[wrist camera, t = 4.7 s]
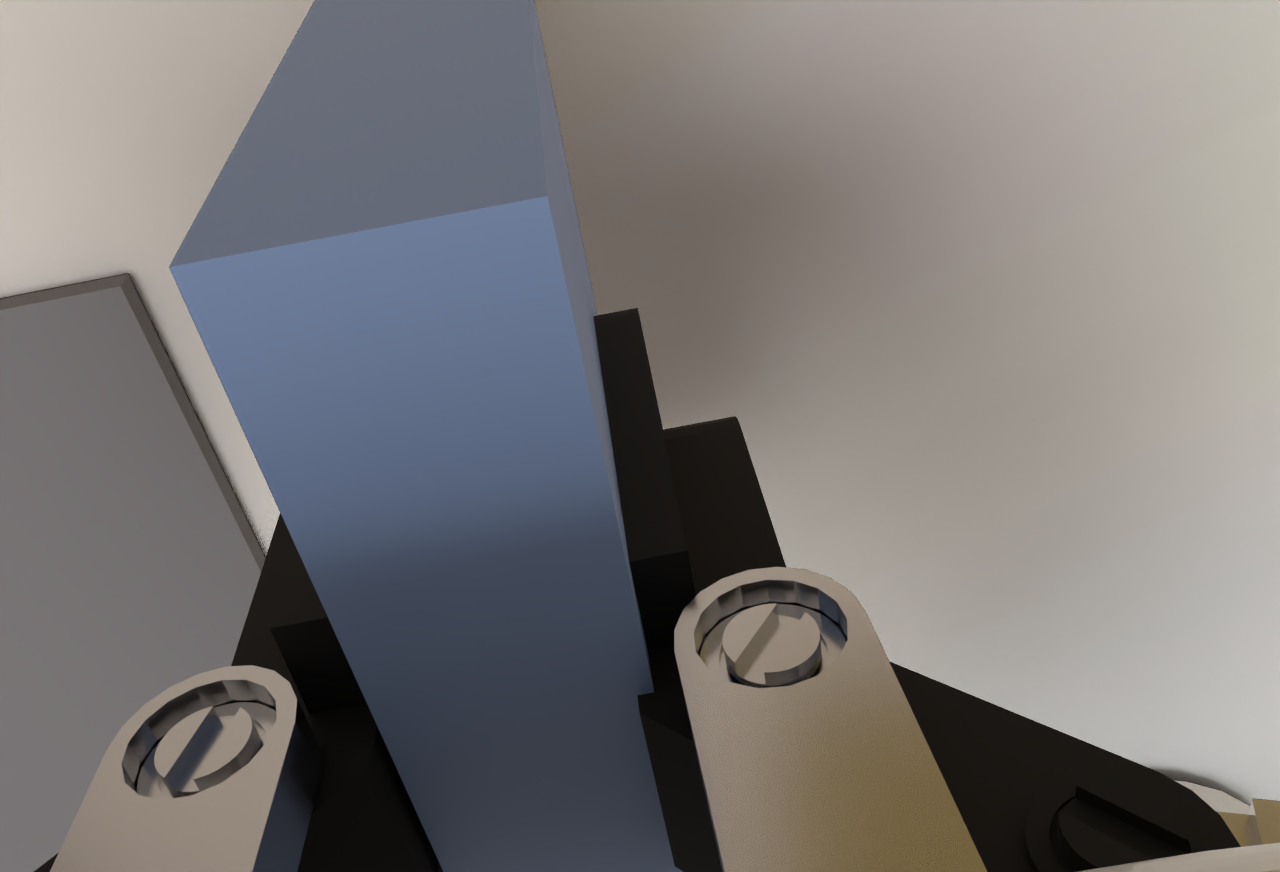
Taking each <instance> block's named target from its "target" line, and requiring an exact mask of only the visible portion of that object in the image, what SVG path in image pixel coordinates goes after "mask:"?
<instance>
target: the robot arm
mask: <svg viewBox="0 0 1280 872" xmlns="http://www.w3.org/2000/svg"><path fill="white" fill-rule="evenodd" d="M593 317H594V324H595V331H596V338H597V345H598V352H599V358H600V365H601V372H602V379H603V386H604V393H605V399H606V406H607V413H608V420H609V427H610V434H611V441H612V448H613V454H614V461H615V468H616V475H617V482H618V489H619V495H620V502H621V509H622V516H623V523H624V530H625V537H626V543H627V550H628V557H629V563H630V568H631V573H632V578H633V582H634V587H635V592H636V597H637V601H638V606H639V611H640V616H641V621H642V625H643V630H644V635H645V640H646V644H647V649H648V655H649V662H650V668H651V675H652V681H653V688H654V692H653V693H648V694H642V695H637V697H638V705H639V713H640V717H641V722H642V726H643V730H644V735H645V739H646V744H647V748H648V752H649V757H650V761H651V765H652V770H653V774H654V778H655V783H656V787H657V791H658V796H659V800H660V805H661V809H662V813H663V818H664V822H665V826H666V831H667V835H668V839H669V844H670V848H671V852H672V857H673V861H674V866H675V867H677V868H678V869H680V870H681V871H683V872H1280V801H1273V800H1263V799H1253V798H1252V800H1251V805H1250V806H1249V805H1247V804H1245V803H1243V802H1241V801H1239V800H1238V799H1236V798H1234V797H1232V796H1230V795H1228V794H1226V793H1225V792H1223V791H1220V790H1216V789H1212V788H1208V787H1205V786H1201V785H1197V784H1194V783H1190V782H1186V781H1177V780H1172V779H1170V778H1168V777H1167V776H1165V775H1163V774H1161V773H1159V772H1157V771H1155V770H1152V769H1150V768H1147V767H1145V766H1142V765H1140V764H1138V763H1135V762H1133V761H1130V760H1128V759H1125V758H1123V757H1121V756H1118V755H1116V754H1113V753H1111V752H1108V751H1106V750H1103V749H1101V748H1099V747H1096V746H1094V745H1091V744H1089V743H1086V742H1084V741H1082V740H1079V739H1077V738H1074V737H1072V736H1069V735H1067V734H1064V733H1062V732H1060V731H1057V730H1055V729H1052V728H1050V727H1047V726H1045V725H1043V724H1040V723H1038V722H1035V721H1033V720H1030V719H1028V718H1026V717H1023V716H1021V715H1018V714H1016V713H1013V712H1011V711H1008V710H1006V709H1004V708H1001V707H999V706H996V705H994V704H991V703H989V702H987V701H984V700H982V699H979V698H977V697H974V696H972V695H969V694H967V693H965V692H962V691H960V690H957V689H955V688H952V687H950V686H948V685H945V684H943V683H940V682H938V681H935V680H933V679H931V678H928V677H926V676H923V675H921V674H918V673H916V672H913V671H911V670H909V669H906V668H904V667H901V666H899V665H896V664H894V663H892V662H889V660H888V658H887V656H886V654H885V652H884V649H883V647H882V645H881V643H880V641H879V639H878V637H877V634H876V632H875V630H874V628H873V626H872V624H871V622H870V619H869V617H868V615H867V613H866V611H865V609H864V608H863V607H862V605H861V604H860V603H859V601H858V600H857V598H856V597H855V596H854V594H853V593H852V592H851V591H849V590H848V589H846V588H845V587H844V586H842V585H841V584H839V583H838V582H836V581H835V580H833V579H832V578H829V577H826V576H823V575H820V574H817V573H814V572H811V571H809V570H805V569H795V568H786V565H785V562H784V559H783V556H782V553H781V550H780V547H779V544H778V541H777V538H776V535H775V531H774V528H773V525H772V522H771V519H770V516H769V513H768V510H767V507H766V504H765V501H764V498H763V495H762V492H761V488H760V485H759V482H758V479H757V476H756V473H755V470H754V467H753V464H752V461H751V458H750V455H749V452H748V449H747V445H746V442H745V439H744V436H743V433H742V430H741V427H740V424H739V422H738V419H737V418H736V417H735V416H734V417H729V418H724V419H718V420H713V421H707V422H702V423H697V424H691V425H686V426H681V427H675V428H670V429H664V430H663V428H662V423H661V418H660V414H659V409H658V404H657V399H656V394H655V390H654V385H653V380H652V375H651V370H650V366H649V361H648V356H647V351H646V346H645V342H644V337H643V332H642V327H641V322H640V318H639V313H638V308H635V309H630V310H624V311H619V312H613V313H608V314H603V315H597V316H593ZM34 872H443V870H442V867H441V865H440V863H439V861H438V859H437V856H436V854H435V852H434V850H433V848H432V845H431V843H430V841H429V839H428V837H427V834H426V832H425V830H424V828H423V826H422V823H421V821H420V819H419V817H418V815H417V812H416V810H415V808H414V806H413V804H412V801H411V799H410V797H409V795H408V793H407V790H406V788H405V786H404V784H403V782H402V779H401V777H400V775H399V773H398V771H397V768H396V766H395V764H394V762H393V760H392V757H391V755H390V753H389V751H388V749H387V746H386V744H385V742H384V740H383V738H382V735H381V733H380V731H379V729H378V727H377V724H376V722H375V720H374V718H373V715H372V713H371V711H370V709H369V707H368V704H367V702H366V700H365V698H364V696H363V693H362V691H361V689H360V687H359V685H358V682H357V680H356V678H355V676H354V674H353V671H352V669H351V667H350V665H349V663H348V660H347V658H346V656H345V654H344V652H343V649H342V647H341V645H340V643H339V641H338V638H337V636H336V634H335V632H334V630H333V627H332V625H331V623H330V621H329V619H328V616H327V614H326V612H325V610H324V608H323V605H322V603H321V601H320V599H319V597H318V594H317V592H316V590H315V588H314V586H313V583H312V581H311V579H310V577H309V575H308V572H307V570H306V568H305V566H304V563H303V561H302V559H301V557H300V555H299V552H298V550H297V548H296V546H295V544H294V541H293V539H292V537H291V535H290V533H289V530H288V528H287V526H286V524H285V522H284V519H283V517H282V515H281V513H280V515H279V519H278V522H277V525H276V528H275V531H274V534H273V537H272V540H271V543H270V547H269V550H268V553H267V556H266V559H265V562H264V565H263V568H262V571H261V574H260V578H259V581H258V584H257V587H256V590H255V593H254V596H253V599H252V602H251V605H250V609H249V612H248V615H247V618H246V621H245V624H244V627H243V630H242V633H241V636H240V640H239V643H238V646H237V649H236V652H235V655H234V658H233V661H232V664H231V666H226V667H223V668H219V669H215V670H211V671H207V672H204V673H200V674H197V675H195V676H193V677H191V678H188V679H186V680H184V681H182V682H180V683H178V684H176V685H173V686H171V687H169V688H168V689H166V690H165V691H163V692H162V693H161V694H159V695H158V696H156V697H155V698H153V699H152V700H150V701H149V702H147V703H146V704H145V705H143V706H142V707H141V708H140V709H139V710H138V711H137V712H136V713H135V714H134V715H133V716H132V717H131V718H130V719H129V720H128V721H127V722H126V723H125V724H124V725H123V726H122V727H121V729H120V730H119V732H118V733H117V735H116V736H115V738H114V739H113V741H112V743H111V744H110V746H109V747H108V749H107V750H106V752H105V755H104V757H103V759H102V761H101V763H100V765H99V767H98V770H97V772H96V774H95V776H94V778H93V780H92V782H91V785H90V787H89V789H88V791H87V793H86V795H85V797H84V800H83V802H82V804H81V806H80V808H79V810H78V812H77V815H76V817H75V819H74V821H73V823H72V825H71V827H70V830H69V832H68V834H67V836H66V838H65V840H64V842H63V845H62V847H61V849H60V851H59V853H57V854H56V855H55V856H53V857H52V858H51V859H49V860H48V861H47V862H46V863H44V864H43V865H42V866H40V867H39V868H38V869H36V870H35V871H34Z"/></svg>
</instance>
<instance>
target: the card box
mask: <svg viewBox="0 0 1280 872" xmlns="http://www.w3.org/2000/svg"><path fill="white" fill-rule="evenodd" d="M169 268H170V271H171V273H172V275H173V277H174V279H175V282H176V284H177V286H178V288H179V290H180V293H181V295H182V297H183V299H184V301H185V304H186V306H187V308H188V310H189V312H190V315H191V317H192V319H193V321H194V323H195V326H196V328H197V330H198V332H199V334H200V337H201V339H202V341H203V343H204V345H205V348H206V350H207V352H208V354H209V356H210V359H211V361H212V363H213V365H214V367H215V370H216V372H217V374H218V376H219V378H220V381H221V383H222V385H223V387H224V389H225V392H226V394H227V396H228V398H229V400H230V403H231V405H232V407H233V409H234V412H235V414H236V416H237V418H238V420H239V423H240V425H241V427H242V429H243V431H244V434H245V436H246V438H247V440H248V442H249V445H250V447H251V449H252V451H253V453H254V456H255V458H256V460H257V462H258V464H259V467H260V469H261V471H262V473H263V475H264V478H265V480H266V482H267V484H268V486H269V489H270V491H271V493H272V495H273V497H274V500H275V502H276V504H277V506H278V508H279V511H280V513H281V515H282V517H283V519H284V522H285V524H286V526H287V528H288V530H289V533H290V535H291V537H292V539H293V541H294V544H295V546H296V548H297V550H298V552H299V555H300V557H301V559H302V561H303V563H304V566H305V568H306V570H307V572H308V575H309V577H310V579H311V581H312V583H313V586H314V588H315V590H316V592H317V594H318V597H319V599H320V601H321V603H322V605H323V608H324V610H325V612H326V614H327V616H328V619H329V621H330V623H331V625H332V627H333V630H334V632H335V634H336V636H337V638H338V641H339V643H340V645H341V647H342V649H343V652H344V654H345V656H346V658H347V660H348V663H349V665H350V667H351V669H352V671H353V674H354V676H355V678H356V680H357V682H358V685H359V687H360V689H361V691H362V693H363V696H364V698H365V700H366V702H367V704H368V707H369V709H370V711H371V713H372V715H373V718H374V720H375V722H376V724H377V727H378V729H379V731H380V733H381V735H382V738H383V740H384V742H385V744H386V746H387V749H388V751H389V753H390V755H391V757H392V760H393V762H394V764H395V766H396V768H397V771H398V773H399V775H400V777H401V779H402V782H403V784H404V786H405V788H406V790H407V793H408V795H409V797H410V799H411V801H412V804H413V806H414V808H415V810H416V812H417V815H418V817H419V819H420V821H421V823H422V826H423V828H424V830H425V832H426V834H427V837H428V839H429V841H430V843H431V845H432V848H433V850H434V852H435V854H436V856H437V859H438V861H439V863H440V865H441V867H442V870H443V872H683V871H681V870H680V869H678V868H677V867H675V866H674V861H673V857H672V852H671V848H670V844H669V839H668V835H667V831H666V826H665V822H664V818H663V813H662V809H661V805H660V800H659V796H658V791H657V787H656V783H655V778H654V774H653V770H652V765H651V761H650V757H649V752H648V748H647V744H646V739H645V735H644V730H643V726H642V722H641V717H640V713H639V705H638V697H637V695H642V694H648V693H653V692H654V688H653V681H652V675H651V668H650V662H649V655H648V649H647V644H646V640H645V635H644V630H643V625H642V621H641V616H640V611H639V606H638V601H637V597H636V592H635V587H634V582H633V578H632V573H631V568H630V563H629V557H628V550H627V543H626V537H625V530H624V523H623V516H622V509H621V502H620V495H619V489H618V482H617V475H616V468H615V461H614V454H613V448H612V441H611V434H610V427H609V420H608V413H607V406H606V399H605V393H604V386H603V379H602V372H601V365H600V358H599V352H598V345H597V338H596V331H595V324H594V317H593V316H597V312H596V307H595V302H594V297H593V292H592V287H591V282H590V277H589V272H588V267H587V262H586V257H585V252H584V247H583V242H582V237H581V232H580V227H579V222H578V217H577V212H576V207H575V202H574V197H573V192H572V187H571V182H570V177H569V172H568V167H567V162H566V157H565V152H564V147H563V142H562V137H561V132H560V127H559V122H558V117H557V112H556V107H555V102H554V97H553V92H552V87H551V82H550V77H549V72H548V67H547V62H546V57H545V52H544V47H543V42H542V37H541V32H540V27H539V22H538V17H537V12H536V7H535V2H534V0H315V1H314V2H313V4H312V6H311V8H310V10H309V12H308V13H307V15H306V17H305V19H304V21H303V23H302V24H301V26H300V28H299V30H298V32H297V34H296V35H295V37H294V39H293V41H292V43H291V45H290V46H289V48H288V50H287V52H286V54H285V55H284V57H283V59H282V61H281V63H280V65H279V66H278V68H277V70H276V72H275V74H274V76H273V77H272V79H271V81H270V83H269V85H268V87H267V88H266V90H265V92H264V94H263V96H262V98H261V99H260V101H259V103H258V105H257V107H256V109H255V110H254V112H253V114H252V116H251V118H250V120H249V121H248V123H247V125H246V127H245V129H244V131H243V132H242V134H241V136H240V138H239V140H238V142H237V143H236V145H235V147H234V149H233V151H232V153H231V154H230V156H229V158H228V160H227V162H226V164H225V165H224V167H223V169H222V171H221V173H220V175H219V176H218V178H217V180H216V182H215V184H214V186H213V187H212V189H211V191H210V193H209V195H208V197H207V198H206V200H205V202H204V204H203V206H202V208H201V209H200V211H199V213H198V215H197V217H196V219H195V220H194V222H193V224H192V226H191V228H190V230H189V231H188V233H187V235H186V237H185V239H184V241H183V242H182V244H181V246H180V248H179V250H178V252H177V253H176V255H175V257H174V259H173V261H172V263H171V264H170V266H169Z"/></svg>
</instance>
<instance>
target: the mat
mask: <svg viewBox="0 0 1280 872" xmlns="http://www.w3.org/2000/svg"><path fill="white" fill-rule="evenodd" d="M264 562H265V557H264V555H263V552H262V550H261V548H260V546H259V544H258V542H257V540H256V538H255V536H254V534H253V532H252V530H251V528H250V526H249V523H248V521H247V519H246V517H245V515H244V513H243V511H242V509H241V507H240V505H239V503H238V501H237V499H236V497H235V494H234V492H233V490H232V488H231V486H230V484H229V482H228V480H227V478H226V476H225V474H224V472H223V470H222V468H221V466H220V463H219V461H218V459H217V457H216V455H215V453H214V451H213V449H212V447H211V445H210V443H209V441H208V439H207V437H206V434H205V432H204V430H203V428H202V426H201V424H200V422H199V420H198V418H197V416H196V414H195V412H194V410H193V408H192V405H191V403H190V401H189V399H188V397H187V395H186V393H185V391H184V389H183V387H182V385H181V383H180V381H179V379H178V377H177V374H176V372H175V370H174V368H173V366H172V364H171V362H170V360H169V358H168V356H167V354H166V352H165V350H164V348H163V345H162V343H161V341H160V339H159V337H158V335H157V333H156V331H155V329H154V327H153V325H152V323H151V321H150V319H149V316H148V314H147V312H146V310H145V308H144V306H143V304H142V302H141V300H140V298H139V296H138V294H137V292H136V290H135V287H134V285H133V283H132V281H131V279H130V277H129V275H128V274H125V275H120V276H115V277H110V278H105V279H100V280H94V281H89V282H84V283H79V284H74V285H69V286H64V287H59V288H54V289H49V290H44V291H39V292H34V293H29V294H23V295H18V296H13V297H8V298H3V299H0V872H34V871H35V870H36V869H38V868H39V867H40V866H42V865H43V864H44V863H46V862H47V861H48V860H49V859H51V858H52V857H53V856H55V855H56V854H57V853H59V851H60V849H61V847H62V845H63V842H64V840H65V838H66V836H67V834H68V832H69V830H70V827H71V825H72V823H73V821H74V819H75V817H76V815H77V812H78V810H79V808H80V806H81V804H82V802H83V800H84V797H85V795H86V793H87V791H88V789H89V787H90V785H91V782H92V780H93V778H94V776H95V774H96V772H97V770H98V767H99V765H100V763H101V761H102V759H103V757H104V755H105V752H106V750H107V749H108V747H109V746H110V744H111V743H112V741H113V739H114V738H115V736H116V735H117V733H118V732H119V730H120V729H121V727H122V726H123V725H124V724H125V723H126V722H127V721H128V720H129V719H130V718H131V717H132V716H133V715H134V714H135V713H136V712H137V711H138V710H139V709H140V708H141V707H142V706H143V705H145V704H146V703H147V702H149V701H150V700H152V699H153V698H155V697H156V696H158V695H159V694H161V693H162V692H163V691H165V690H166V689H168V688H169V687H171V686H173V685H176V684H178V683H180V682H182V681H184V680H186V679H188V678H191V677H193V676H195V675H197V674H200V673H204V672H207V671H211V670H215V669H219V668H223V667H226V666H231V664H232V661H233V658H234V655H235V652H236V649H237V646H238V643H239V640H240V636H241V633H242V630H243V627H244V624H245V621H246V618H247V615H248V612H249V609H250V605H251V602H252V599H253V596H254V593H255V590H256V587H257V584H258V581H259V578H260V574H261V571H262V568H263V565H264Z"/></svg>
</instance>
